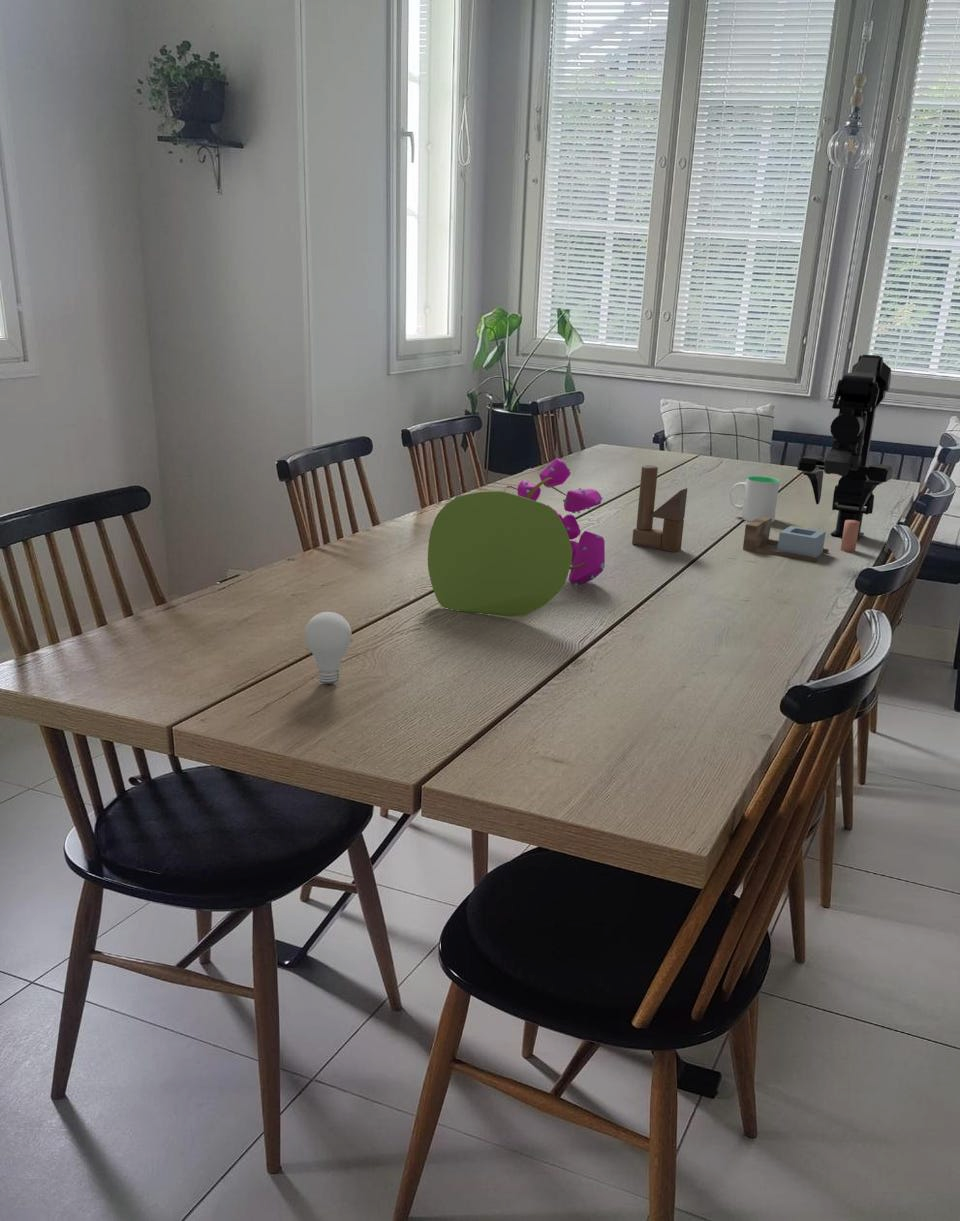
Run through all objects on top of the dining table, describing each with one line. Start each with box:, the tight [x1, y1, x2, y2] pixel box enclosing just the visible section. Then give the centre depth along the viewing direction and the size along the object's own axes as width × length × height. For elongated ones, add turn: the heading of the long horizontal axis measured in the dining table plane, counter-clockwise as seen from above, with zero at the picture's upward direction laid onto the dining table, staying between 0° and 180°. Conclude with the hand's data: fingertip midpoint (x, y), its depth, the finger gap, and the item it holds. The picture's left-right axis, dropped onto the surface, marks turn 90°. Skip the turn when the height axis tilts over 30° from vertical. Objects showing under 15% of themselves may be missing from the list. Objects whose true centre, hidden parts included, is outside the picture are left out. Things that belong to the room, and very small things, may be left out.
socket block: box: [776, 525, 827, 558], centre depth 226 cm, size 8×8×5 cm
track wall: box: [742, 516, 830, 563], centre depth 228 cm, size 11×16×6 cm
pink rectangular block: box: [840, 520, 860, 553], centre depth 230 cm, size 3×3×7 cm
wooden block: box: [631, 464, 688, 553], centre depth 226 cm, size 4×11×18 cm, turn 56°
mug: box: [729, 475, 780, 523], centre depth 259 cm, size 12×8×10 cm
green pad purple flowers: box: [427, 458, 606, 618], centre depth 191 cm, size 30×28×35 cm
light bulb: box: [304, 611, 352, 685], centre depth 145 cm, size 7×7×11 cm
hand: (838, 507), depth 219 cm, fingers open, 9 cm apart
